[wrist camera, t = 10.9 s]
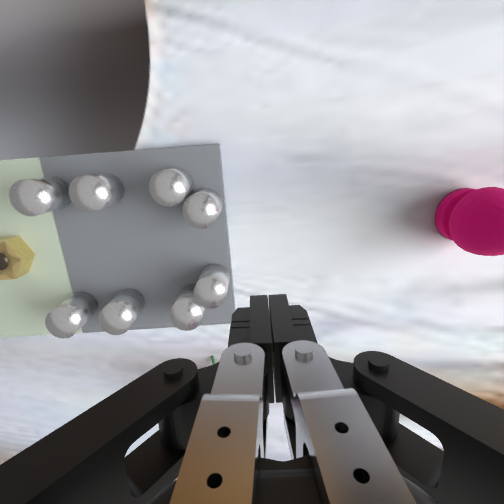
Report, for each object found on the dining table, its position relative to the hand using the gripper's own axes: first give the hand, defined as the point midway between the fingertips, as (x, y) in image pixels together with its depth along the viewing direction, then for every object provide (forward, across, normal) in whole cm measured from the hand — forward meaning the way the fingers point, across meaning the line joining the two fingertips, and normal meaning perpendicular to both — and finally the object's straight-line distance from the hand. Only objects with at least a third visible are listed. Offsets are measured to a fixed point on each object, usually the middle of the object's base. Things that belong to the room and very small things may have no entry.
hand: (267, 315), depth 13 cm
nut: (+25, +30, +4) cm, 39 cm away
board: (+26, +20, +4) cm, 33 cm away
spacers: (+25, +14, +4) cm, 29 cm away
